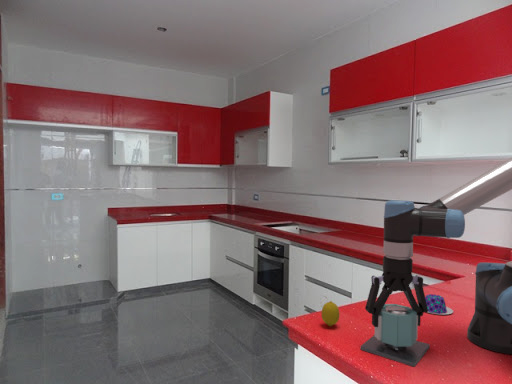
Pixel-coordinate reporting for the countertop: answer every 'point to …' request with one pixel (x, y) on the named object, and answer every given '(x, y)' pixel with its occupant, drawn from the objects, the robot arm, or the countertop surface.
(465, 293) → the countertop surface
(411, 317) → the collar
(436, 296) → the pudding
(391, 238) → the robot arm
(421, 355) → the domed lamp fixture
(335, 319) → the lemon
